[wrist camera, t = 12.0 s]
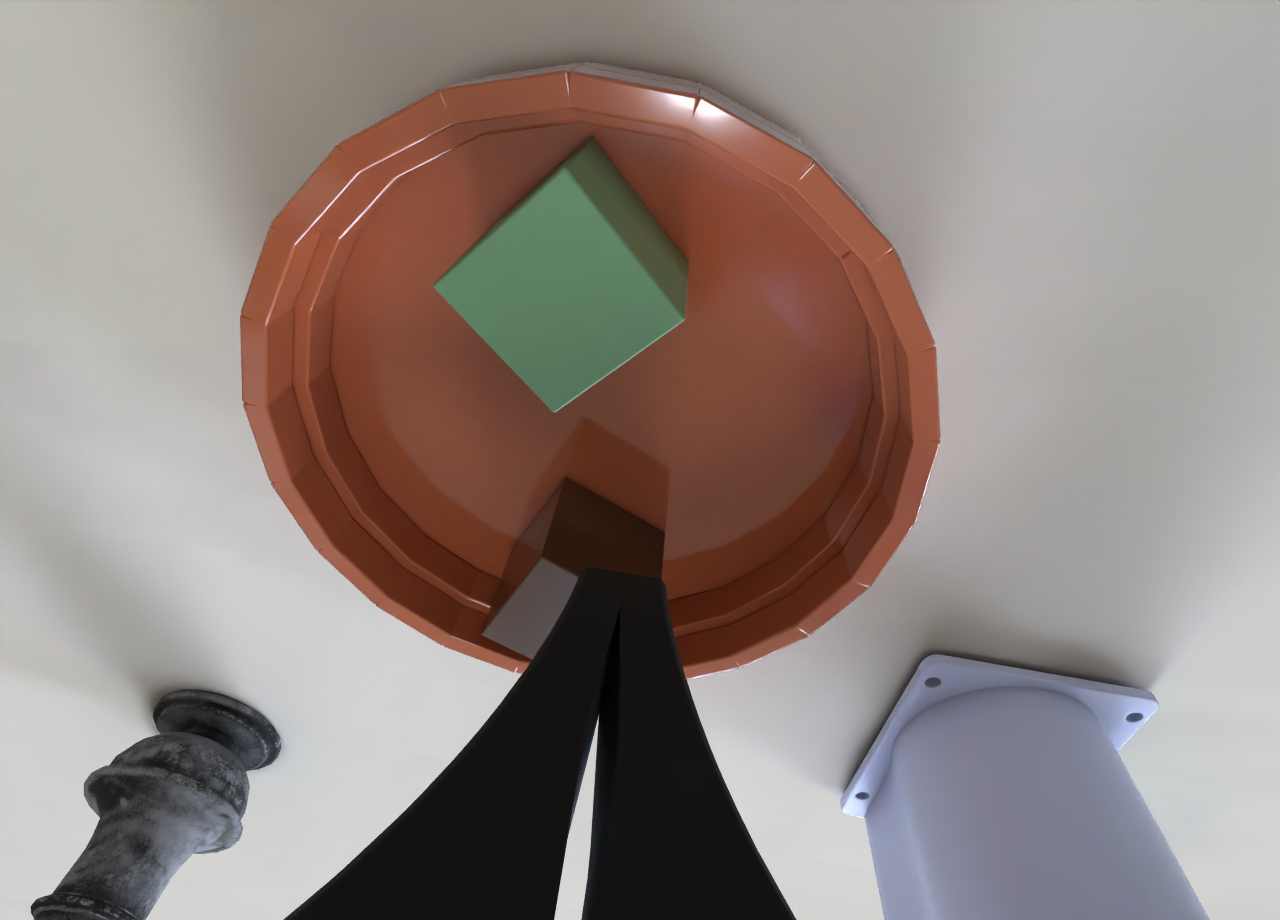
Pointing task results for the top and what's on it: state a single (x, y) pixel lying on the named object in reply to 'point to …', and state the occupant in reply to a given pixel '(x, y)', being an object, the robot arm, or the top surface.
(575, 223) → the sage-green cube
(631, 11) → the top surface
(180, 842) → the dark grey tiered piece
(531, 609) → the walnut cube
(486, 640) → the bowl
